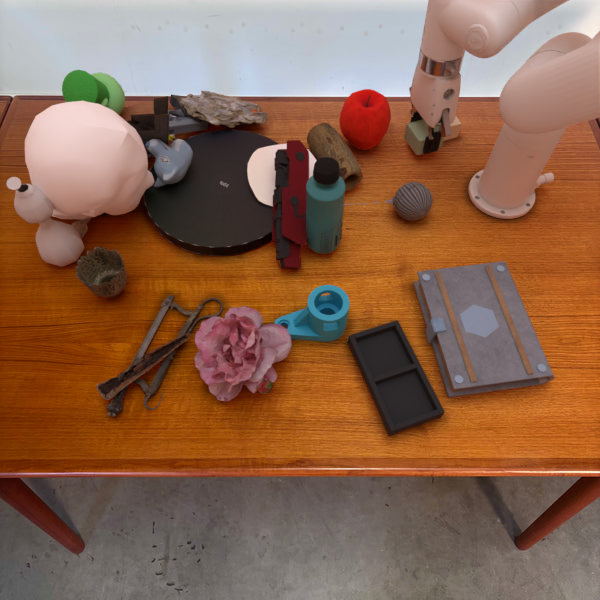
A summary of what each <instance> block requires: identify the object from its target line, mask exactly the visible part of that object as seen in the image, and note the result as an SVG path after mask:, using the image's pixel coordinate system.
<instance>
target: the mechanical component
mask: <svg viewBox="0 0 600 600" xmlns="http://www.w3.org/2000/svg"><path fill="white" fill-rule="evenodd" d="M286 143H287V149H278V150H277V152H276V153H275V158H274V167H275V171H276V177H275V187H276V189H275V190H274V195H273V220H274V221H273V222H272V241H271V242H272V243H274V244H276V245H275V261H279V264H280V269H284V270H285V269H286V270H287V269H288V270H293V271H297V270H300V269H301V268H302V266H301V265H302V258H301V257H300V256H301V249H302V247H305V246H306V244H307V242H306V239H307V235H306V234H307V233H306V219H305V218H306V193H307V190H306V184H307V181H308V180H309V152H308V150H309V149H308V148H307V147H306V146H305V145H304V144H303V142H302V141H301V140H300V139H293V140H292V139H291V140H290V139H287V140H286ZM307 149H308V150H307Z"/></svg>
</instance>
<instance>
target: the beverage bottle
mask: <svg viewBox="0 0 600 600" xmlns="http://www.w3.org/2000/svg"><path fill="white" fill-rule="evenodd" d="M345 188H346V186H345V182H344V180H343V179H342V178H341V177H340V167H339V163H338V162H337V161H336V160H335V159H333V158H330V157H323V158H320V159H318V160H317V161H316V162H315V164H314V170H313V176H311V177H310V178H309V180H308V181H307V184H306V190H307V193H306V218H305V219H306V233H307V234H306V235H307V239H306V244H307V247H308V248H309V249H310V250H311V251H313V252H314V253H316V254H320V255H326V254H331V253H333V252H335V251H336V250H337V249H338V248H339V246H340V245H341V242H342V237H343V225H344V222H343V220H344V210H345V209H344V208H345V195H346V194H345V193H346V192H345Z"/></svg>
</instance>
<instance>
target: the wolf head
mask: <svg viewBox="0 0 600 600" xmlns="http://www.w3.org/2000/svg"><path fill="white" fill-rule="evenodd" d="M184 140H185V139H181V138H175V139H173V141H171V144H170V146H168V145H166V144H165V143H164V142H162V141H161V140H159V139H151V140H150V141H148V142H147V143H146V145H145V146H146V148H147V149H148V150H149V152H150V153H151V154H153V155H154V158H155V162H154V164H153V165H154V169H155V172H156V174H157V181H156V182H155V184H154V187H160V186H164V185H166V184H174V183H177V182H179V181H180V180H181V179H182V178H183V177H184V176H185V174H186V172H187V170H188V168H189V166H190V164H191V160H192V157H193V151H192V149H191V147H190V146H189V145H188V144H187V143H186V142H185V141H184Z"/></svg>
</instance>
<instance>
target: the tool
mask: <svg viewBox="0 0 600 600" xmlns="http://www.w3.org/2000/svg"><path fill="white" fill-rule="evenodd" d="M92 218H93V217H91V218H87V219H83V220H75V221H73V222H72V223H71V224H70V225H71V226H73V227H75V228H76V229H77V230H78V232H79V234H80V237H81V239H82V238H84V236H85V235H86V233H87V232H88V229H89V227H88V223H89V222H90V220H91V219H92Z"/></svg>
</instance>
